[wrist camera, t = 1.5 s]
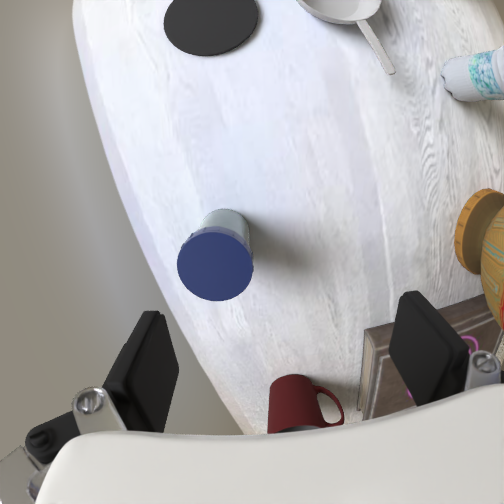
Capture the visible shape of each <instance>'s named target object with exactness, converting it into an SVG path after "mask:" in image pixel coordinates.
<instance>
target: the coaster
mask: <svg viewBox="0 0 504 504" xmlns="http://www.w3.org/2000/svg"><path fill="white" fill-rule="evenodd" d="M257 19H258V10H257V6H256V3H255V1H254V0H173V2H172V3H171V4H170V6H169V7H168V9H167V11H166V14H165V17H164V30H165V33H166V36H167V38H168V39H169V40H170V42H171V43H172V44H173V45H174V46H175V47H177V48H178V49H180V50H181V51H183V52H186V53H189V54H192V55H198V56H212V55H218V54H222V53H225V52H228V51H230V50H232V49H234V48H236V47H238V46H239V45H241V44H242V43H243V42H244V41H246V40H247V39H248V38H249V36H250V35H251V34H252V32H253V31H254V29H255V27H256V24H257Z"/></svg>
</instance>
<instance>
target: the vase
mask: <svg viewBox="0 0 504 504" xmlns="http://www.w3.org/2000/svg"><path fill="white" fill-rule="evenodd" d="M454 244H455V253H456V255H457V258H458V261H459V262H460V263H461V264H462V266H463V267H464V268H466V269H467V270H468V271H470V272H471V273H473V274H480V275H481V283H482V287H483V291H484V294H485V298H486V301H487V305H488V307H489V309H490V311H491V313H492V314H493V316H494V318H495V320H496V321H497V323H498V324H499V326H500V327H501V328H502V330H503V331H504V194H503V193H500V192H497V191H495V190H492V189H482V190H480V191H478V192H476V193H475V194H474V195H473V196H472V197H471V198H470V199H469V200H468V201H467V203H466V204H465V206H464V208H463V209H462V212H461V214H460V216H459V219H458V222H457V226H456V230H455V241H454Z"/></svg>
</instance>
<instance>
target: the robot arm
mask: <svg viewBox="0 0 504 504" xmlns="http://www.w3.org/2000/svg"><path fill="white" fill-rule="evenodd" d="M469 349H470V347H469V346H468V345H467V344H466V342H465V341H464V340H463V339H462V338H461V337H460V336H459V334H458V333H457V332H456V331H455V330H454V329H453V328H452V326H451V325H450V324H449V323H448V322H447V321H446V320H445V319H444V318H443V316H442V315H441V314H440V313H439V312H438V311H437V310H436V309H435V308H434V307H433V306H432V305H431V304H430V303H429V301H428V300H427V299H426V298H425V297H424V296H423V295H422V294H421V293H420V292H419V291H409V292H405V293H404V294H403V296H401V297H400V299H399V304H398V309H397V314H396V318H395V323H394V327H393V332H392V336H391V340H390V344H389V349H388V351H389V355H390V357H391V359H392V361H393V363H394V364H395V366H396V368H397V370H398V372H399V373H400V375H401V377H402V379H403V381H404V383H405V385H406V386H407V388H408V390H409V392H410V394H411V396H412V398H413V400H414V402H415V404H416V406H417V407H416V408H412V409H409V410H406V411H402V412H398V413H395V414H391V415H387V416H383V417H379V418H374V419H370V420H365V421H361V422H356V423H351V424H345V425H340V426H334V427H327V428H321V429H313V430H306V431H297V432H287V433H275V434H259V435H186V434H185V435H184V434H169V433H163V432H164V428H165V424H166V420H167V416H168V412H169V408H170V404H171V400H172V396H173V393H174V389H175V385H176V381H177V378H178V373H179V366H178V362H177V359H176V356H175V352H174V348H173V345H172V342H171V338H170V334H169V330H168V327H167V323H166V319H165V316H164V315H163V314H160V312H159V311H144V312H143V314H142V316H141V318H140V319H139V321H138V323H137V325H136V326H135V328H134V330H133V332H132V334H131V335H130V337H129V339H128V341H127V343H125V344H124V346H123V348H122V349H121V351H120V353H119V355H118V357H117V359H116V361H115V363H114V365H113V366H112V368H111V370H110V372H109V374H108V376H107V378H106V380H105V382H104V384H103V386H102V388H100V387H88V388H85V389H83V390H81V391H80V392H78V393H77V394H76V395H75V397H74V398H73V401H72V411H70V412H68V413H66V414H63V415H61V416H59V417H57V418H55V419H52V420H50V421H48V422H45V423H43V424H41V425H38V426H36V427H34V428H33V429H32V430H31V431H30V432H29V433H28V435H27V437H26V441H25V445H26V446H25V447H24V448H23V447H22V446H19V447H18V448H16V449H15V450H14V451H12V452H11V453H10V454H9V455H7V456H6V457H5V458H4V459H2V460H1V461H0V504H504V371H502V370H501V365H500V361H499V360H498V358H497V357H496V356H495V355H494V354H492V353H490V352H488V351H483V350H479V351H475V352H473V353H472V354H471V355H470V354H469V353H468V351H469Z"/></svg>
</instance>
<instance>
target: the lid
mask: <svg viewBox="0 0 504 504" xmlns="http://www.w3.org/2000/svg"><path fill="white" fill-rule="evenodd" d="M177 270H178V274H179V277H180V279H181V281H182V283H183V284H184V285H185V287H186V288H187V289H188V290H189V291H190V292H192V293H193V294H194V295H196V296H198V297H200V298H203V299H205V300H210V301H224V300H229V299H232V298H234V297H236V296H238V295H239V294H240V293H242V292H243V291H244V290H245V289H246V287H247V286H248V285H249V283H250V281H251V278H252V273H253V271H254V266H253V252H251V249H250V247H249V245H248V244H247V242H246V240H244V238H242V237H241V236H240V235H239V234H238V233H236V232H235V231H233V230H230V229H228V228H224V227H221V226H211V227H204V228H202V229H200V230H198V231H196V232H194V233H192V234H191V236H190V237H189V238H188V239H187V240H186V242H185V243H183V245H182V247H181V250H180V252H179V255H178V259H177Z"/></svg>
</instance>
